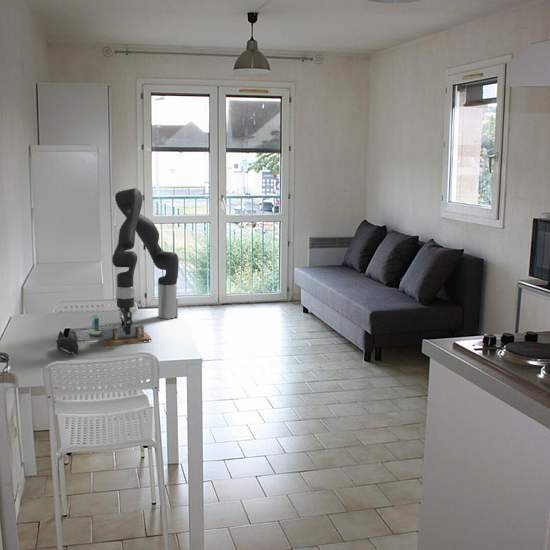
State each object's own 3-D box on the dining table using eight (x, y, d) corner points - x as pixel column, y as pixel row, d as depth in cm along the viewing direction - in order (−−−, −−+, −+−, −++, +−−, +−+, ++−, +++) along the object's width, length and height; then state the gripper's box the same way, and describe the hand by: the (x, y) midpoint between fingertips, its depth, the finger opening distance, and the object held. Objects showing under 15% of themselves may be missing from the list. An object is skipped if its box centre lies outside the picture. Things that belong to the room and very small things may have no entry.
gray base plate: (105, 328, 333) (105, 327, 333) (112, 338, 317) (112, 337, 317) (72, 330, 327) (72, 330, 327) (78, 341, 311) (78, 340, 311)
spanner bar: (141, 334, 319) (141, 323, 318) (144, 337, 314) (144, 326, 313) (101, 337, 312) (100, 326, 311) (103, 340, 307) (102, 329, 306)
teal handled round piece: (103, 326, 333) (102, 314, 332) (108, 334, 320) (108, 321, 319) (85, 328, 330) (85, 315, 328) (90, 336, 317) (90, 323, 316)
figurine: (53, 356, 297) (68, 358, 286) (50, 332, 297) (65, 334, 285) (69, 353, 302) (85, 355, 291) (67, 329, 302) (82, 331, 290)
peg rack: (145, 335, 323) (145, 323, 322) (151, 341, 313) (151, 329, 312) (101, 339, 315) (100, 326, 314) (105, 345, 305) (105, 332, 304)
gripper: (137, 299, 305) (137, 335, 308) (130, 292, 318) (131, 327, 321) (120, 300, 302) (120, 336, 305) (113, 293, 315) (114, 328, 318)
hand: (125, 331), depth 313 cm, fingers open, 8 cm apart
